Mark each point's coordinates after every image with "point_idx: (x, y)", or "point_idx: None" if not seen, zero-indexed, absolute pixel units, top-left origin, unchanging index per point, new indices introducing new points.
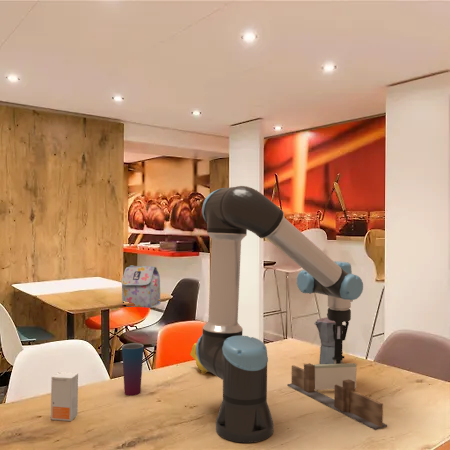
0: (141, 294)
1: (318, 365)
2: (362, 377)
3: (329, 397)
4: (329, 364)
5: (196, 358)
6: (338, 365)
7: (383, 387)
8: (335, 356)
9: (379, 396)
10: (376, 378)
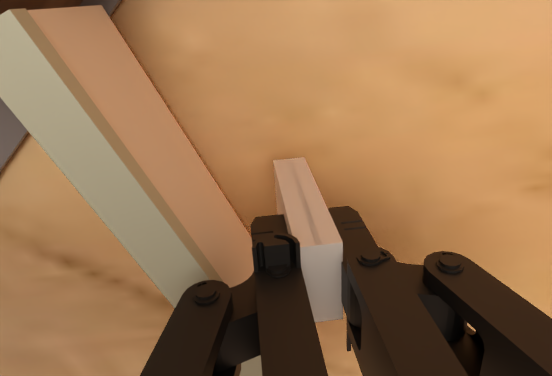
0: None
1: (7, 84)
2: (500, 270)
3: (13, 144)
4: (132, 208)
5: None
6: (165, 290)
7: (358, 369)
8: (173, 325)
9: None
10: None
